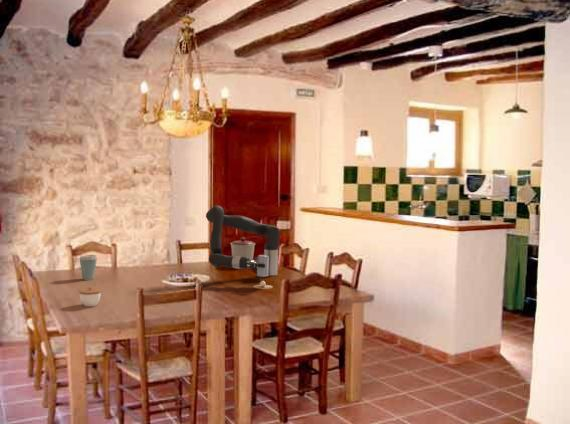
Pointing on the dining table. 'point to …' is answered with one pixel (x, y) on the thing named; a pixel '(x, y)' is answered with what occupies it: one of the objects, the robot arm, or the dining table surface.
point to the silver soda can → (263, 260)
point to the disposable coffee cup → (88, 266)
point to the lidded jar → (90, 296)
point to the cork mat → (262, 287)
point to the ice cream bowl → (256, 270)
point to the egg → (262, 283)
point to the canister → (243, 248)
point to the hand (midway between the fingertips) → (266, 265)
